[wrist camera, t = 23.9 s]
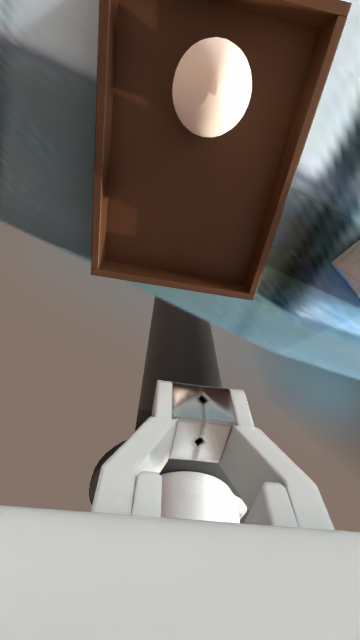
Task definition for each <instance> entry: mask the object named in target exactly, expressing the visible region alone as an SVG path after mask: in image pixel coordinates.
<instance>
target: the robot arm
mask: <svg viewBox="0 0 360 640" xmlns="http://www.w3.org/2000/svg"><path fill="white" fill-rule="evenodd" d="M168 459H181V460H195V461H203V462H211V463H220V464H219V465H220V467H221V468H222V470H223V471H224V473H225V474H226V476H227V478H228V479H229V481H230V482H231V484H232V485H233V487H234V488H235V490H236V491H237V493H238V494H239V496H240V498H239V497H237V496H235V495H234V494H233V493H232V491H231V490H230V488H229V487H228V486H227V485H226V484H225V483H224V482H223V481H221V480H220V479H218V478H216V477H213V476H211V475H208V474H204V473H199V472H190V471H179V472H170V473H165V474H161V475H160V474H159V473H160V472H161V470H162V469H163V467H164V466H165V464H166V463H167V461H168ZM247 508H248V510H249V511H250V512H249V514H248V516H247V518H246V520H245V521H244V523H240V519H241V518H242V517H243V515H244V514H245V513H246V512H247ZM0 640H360V532H351V531H337V530H335V529H334V527H333V524H332V522H331V519H330V517H329V514H328V512H327V510H326V507H325V505H324V502H323V500H322V497H321V495H320V492H319V490H318V488H317V485H316V484H315V483H314V482H313V481H312V480H311V479H310V478H308V476H307V475H306V474H305V473H304V472H303V471H302V470H301V469H300V468H299V467H298V466H297V465H296V464H294V462H293V461H291V459H290V458H289V457H288V456H287V455H286V454H284V453H283V452H282V451H281V450H280V449H279V448H278V447H277V446H276V445H275V444H274V443H273V442H272V441H271V440H270V439H269V438H268V437H267V436H266V435H265V434H264V433H263V432H262V431H261V430H260V429H259V428H255V427H254V424H253V421H252V417H251V413H250V410H249V406H248V403H247V399H246V396H245V392H244V391H243V390H238V389H225V388H217V387H208V386H199V385H191V384H184V383H177V382H168V381H160V380H158V381H157V385H156V391H155V397H154V404H153V410H152V417H149V418H148V419H147V420H146V421H145V422H144V423H143V424H142V425H141V426H140V427H139V428H138V429H137V430H136V431H135V432H134V433H133V434H132V435H131V436H130V437H129V438H128V439H127V440H126V441H125V442H124V443H123V444H122V445H121V446H120V447H119V449H118V450H117V451H116V452H115V453H114V454H113V455H112V456H111V457H110V458H109V459H108V460H107V461H106V462H105V463H104V464H103V465H102V467H101V471H100V475H99V479H98V483H97V487H96V491H95V495H94V500H93V504H92V508H91V512H87V511H73V510H60V509H59V510H58V509H47V508H33V507H21V506H7V505H0Z"/></svg>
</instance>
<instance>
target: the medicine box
mask: <svg viewBox="0 0 360 640" xmlns="http://www.w3.org/2000/svg"><path fill="white" fill-rule="evenodd" d="M331 264H332V266H333V267H334V268H335V269H336V270H337V272H338V273H339V274H340V275H341V277H342V278H343V279H344V281H345V282H346V283H347V284H348V286H349V287H350V288H351V289H352V291H353V292H354V293H355V294H356V296H357V297H358V298H359V300H360V239H359V240H358V241H357V242H356V243H355V244H353V245H352V246H351V247H349V248H348V249H347V250H346V251H344V252H343V253H342V254H341V255H339V256H338V257H337V258H336V259H334V260H333V261H332V262H331Z"/></svg>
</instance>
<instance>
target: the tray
mask: <svg viewBox="0 0 360 640" xmlns="http://www.w3.org/2000/svg"><path fill="white" fill-rule="evenodd" d="M350 7H351V3H349V2H345V1H341V0H100V2H99V34H98V66H97V98H96V130H95V163H94V195H93V227H92V259H91V274H92V275H96V276H103V277H109V278H115V279H121V280H128V281H134V282H140V283H147V284H153V285H159V286H165V287H172V288H178V289H184V290H191V291H197V292H203V293H209V294H216V295H222V296H228V297H235V298H241V299H247V300H254V297H255V294H256V291H257V288H258V285H259V282H260V279H261V276H262V273H263V270H264V267H265V264H266V261H267V258H268V255H269V252H270V249H271V246H272V243H273V240H274V237H275V234H276V231H277V228H278V225H279V222H280V219H281V216H282V213H283V209H284V206H285V203H286V200H287V197H288V194H289V191H290V188H291V185H292V182H293V179H294V176H295V173H296V170H297V167H298V164H299V161H300V158H301V155H302V152H303V149H304V146H305V143H306V140H307V137H308V134H309V131H310V128H311V125H312V122H313V119H314V116H315V113H316V110H317V107H318V104H319V101H320V98H321V95H322V92H323V89H324V86H325V83H326V80H327V77H328V74H329V71H330V68H331V65H332V62H333V59H334V56H335V53H336V50H337V47H338V44H339V41H340V38H341V35H342V32H343V29H344V26H345V23H346V20H347V16H348V13H349V10H350ZM212 37H219V38H224V39H228V40H229V41H231V42H232V43H234V44H235V45H236V46H237V47H239V48H240V49H241V51H242V52H243V54H244V55H245V57H246V58H247V61H248V64H249V67H250V70H251V78H252V89H251V97H250V101H249V104H248V107H247V109H246V111H245V113H244V115H243V117H242V118H241V119H240V121H239V122H238V123H237V124H236V125H235V126H234V127H233V128H232V129H231V130H229V131H227V132H226V133H224V134H222V135H220V136H216V137H202V136H199V135H196V134H194V133H192V132H191V131H189V130H188V129H187V128H186V127H185V126H184V125H183V124H182V122H181V120H180V119H179V117H178V115H177V113H176V110H175V107H174V104H173V96H172V86H173V80H174V75H175V71H176V68H177V66H178V64H179V62H180V60H181V58H182V57H183V55H184V54H185V53H186V51H187V50H188V49H189V48H190V47H191V46H192V45H194V44H195V43H197V42H199V41H200V40H203V39H206V38H212Z"/></svg>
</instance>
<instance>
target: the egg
mask: <svg viewBox="0 0 360 640" xmlns="http://www.w3.org/2000/svg"><path fill="white" fill-rule="evenodd" d="M251 89H252V78H251V70H250V67H249V64H248V61H247V58H246V57H245V55H244V54H243V52H242V51H241V49H240V48H239V47H237V46H236V45H235V44H234V43H232V42H231V41H229V40H228V39H224V38H219V37H212V38H206V39H203V40H200V41H199V42H197V43H195V44H194V45H192V46H191V47H190V48H189V49H188V50H187V51H186V53H185V54H184V55H183V57H182V58H181V60H180V62H179V64H178V66H177V68H176V71H175V75H174V80H173V86H172V96H173V104H174V107H175V110H176V113H177V115H178V117H179V119H180V120H181V122H182V124H183V125H184V126H185V127H186V128H187V129H188V130H189V131H191V132H192V133H194V134H196V135H199V136H202V137H216V136H220V135H222V134H224V133H226V132H227V131H229V130H231V129H232V128H233V127H234V126H235V125H236V124H237V123H238V122H239V121H240V119H241V118H242V117H243V115H244V113H245V111H246V109H247V107H248V104H249V101H250V97H251Z"/></svg>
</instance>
